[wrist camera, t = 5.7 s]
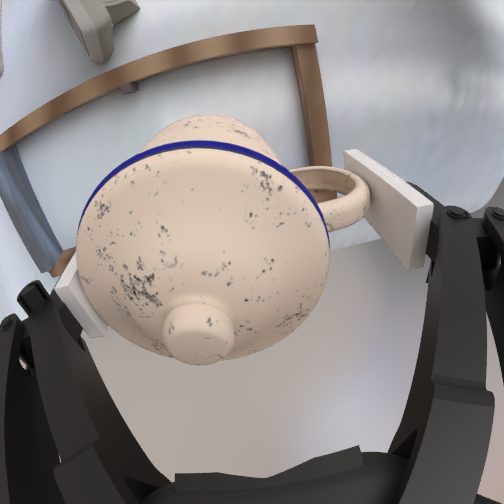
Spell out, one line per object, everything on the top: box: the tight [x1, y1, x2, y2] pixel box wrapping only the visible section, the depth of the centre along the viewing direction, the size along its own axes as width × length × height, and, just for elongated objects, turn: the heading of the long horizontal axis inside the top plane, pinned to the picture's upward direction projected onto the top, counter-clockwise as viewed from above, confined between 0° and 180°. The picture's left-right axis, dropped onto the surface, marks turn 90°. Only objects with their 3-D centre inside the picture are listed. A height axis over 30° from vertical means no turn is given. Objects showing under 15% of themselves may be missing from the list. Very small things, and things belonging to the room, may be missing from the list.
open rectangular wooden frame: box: [0, 25, 337, 278], centre depth 27 cm, size 39×21×4 cm, turn 101°
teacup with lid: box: [76, 115, 370, 365], centre depth 12 cm, size 12×9×12 cm
